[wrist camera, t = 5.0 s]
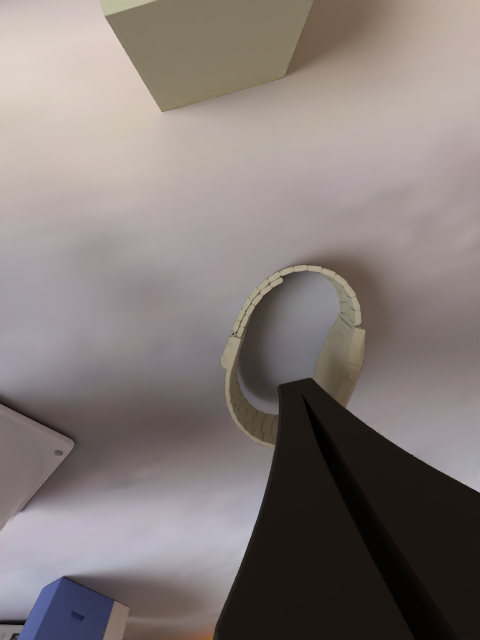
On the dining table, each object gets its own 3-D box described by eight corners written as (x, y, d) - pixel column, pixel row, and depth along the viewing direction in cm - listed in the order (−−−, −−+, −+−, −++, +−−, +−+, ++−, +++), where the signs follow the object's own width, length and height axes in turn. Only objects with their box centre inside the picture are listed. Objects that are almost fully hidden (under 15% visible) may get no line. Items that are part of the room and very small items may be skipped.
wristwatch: (303, 410, 16) (333, 486, 11) (207, 392, 15) (198, 468, 11) (362, 274, 13) (438, 302, 8) (246, 242, 12) (257, 255, 7)
